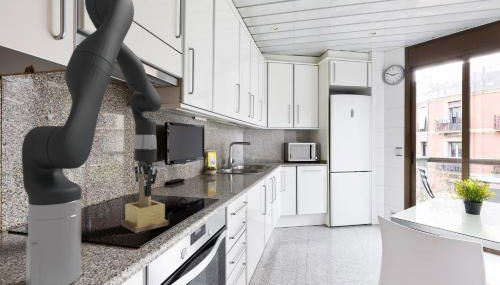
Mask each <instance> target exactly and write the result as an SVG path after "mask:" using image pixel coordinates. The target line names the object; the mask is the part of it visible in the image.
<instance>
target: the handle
mask: <svg viewBox="0 0 500 285" xmlns="http://www.w3.org/2000/svg"><path fill="white" fill-rule="evenodd" d="M144 176H145V178H147V179H148V174H144ZM137 177H138V179H140V194H139V198H138V200H139V201H138V202H139V206H140V208H141V207H147V206H151V200H152V195H151V196H148V197H146V196H144V186H145V185H144V180H143V174H138V173H137Z"/></svg>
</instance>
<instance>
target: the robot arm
mask: <svg viewBox="0 0 500 285" xmlns="http://www.w3.org/2000/svg"><path fill="white" fill-rule="evenodd" d="M84 6H85V10H86V13H87V15H88V17H89V19H90V21H91V23H92V25H93V26H94V28H95V29H96V30H95V31H93V32H92V33H91V34H89V35H88V36H87V37H85V38H84V39H83V40H82V41H80V43H79V44H77V46H76V47H75V48H74V49H73V51H72V53H71V56H70V59H69V61H68V63H67V65H66V68H65V72H64V77H65V82H66V83H65V84H66V87H67V89H68V92H69V95H70V98H71V108H70V111H69V114H68V117H67V119H66V121H65V123H64V124H63V125H40V126H36V127H33V128H31V129H30V130H29V131H27V133H26V135H25V136H24V138H23V142H22V145H21V166H22V180H23V183H22V184H23V188H24V191H25V192H26V195H27V198H28V205H27V206H28V207H27V208H28V210H27V212H28V214H27V227H28V231H27V237H26V240H25V285H72V283H73V284H74V283H75V282H76V281H77V280H79V279H80V277H81V274H82V187H81V185H80V184H78V183H75V182H73V181H72V180H70V179H69V178H68V177H66V176H65V173H64V170H73V169H74V170H75V169H78V168H80V167H82V166H83V165H84V164H85V163H86V162H87V160H88V159H89V156H90V154H91V152H92V149H93V145H94V140H95V134H96V130H97V124H98V119H99V114H100V111H101V107H102V104H103V100H104V98H105V94H106V91H107V89H108V86H109V83H110V81H111V77H112V75H113V72H114V67H115V65H116V63H117V65H118V66H119V69H120V71H121V74H122V75H123V79H124V80H125V83H126V85H127V87H128V88H129V90H130V91H133V93H132V95H131V96H130V99H129V104H130V105H129V106H130V109H131V113H132V116H133V121H134V140H133V144H134V146H133V161H135V162H137V165H136V166H134V167H133V170H134V176H135V182H136V183H138V186H139V188H138V194H139V195H140V179H139V178H138V177H137V173H138V174H143V180H144V185H145V186H144V196H146V197H148V196H151V197H152V186H153V185H155V184H156V180H157V174H158V168H154V162H155V161H157V152H158V151H157V150H158V147H157V122H156V120H155V119H153V118H149V117H146V116H145V113H154V112H155V113H156V112H158V111H160V110H161V107H162V98H161V96H160V94H159V93H158V91H157V90H156V88H155V87H154V86H153V84H152V83H151V81H150V80H149V77H148V75H147V72H146V69H145V66H144V64H143V63H142V61H141V59H140V58H139V57H138V56H137V54H136V53H134V51H133V50H131V48H129V47H128V46H127V45H126V43H124V41H125V38H126V37H127V35H128V32H129V30H130V29H131V26H132V24H133V22H134V21H133V20H134V17H135V16H134V15H135V9H134V3H133V0H84ZM144 174H148V179H147V178H145V176H144Z"/></svg>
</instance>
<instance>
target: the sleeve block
mask: <svg viewBox="0 0 500 285" xmlns="http://www.w3.org/2000/svg"><path fill="white" fill-rule="evenodd" d="M165 213H166V204H165V203H162V202H159V201H156V200H153V199H151V206H147V207H141V208H140V206H139V201H137V202H130V203H125V205H124V218H125V219H124V220H120V224H121V226H122V227H124V228H125V229H128V230H129V231H131V232H133V233H135V234H136V233H140V232H145V231H149V230H150V231H151V230H153V229H157V228H161V227H166V226H169V220H167V219H166V214H165Z"/></svg>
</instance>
